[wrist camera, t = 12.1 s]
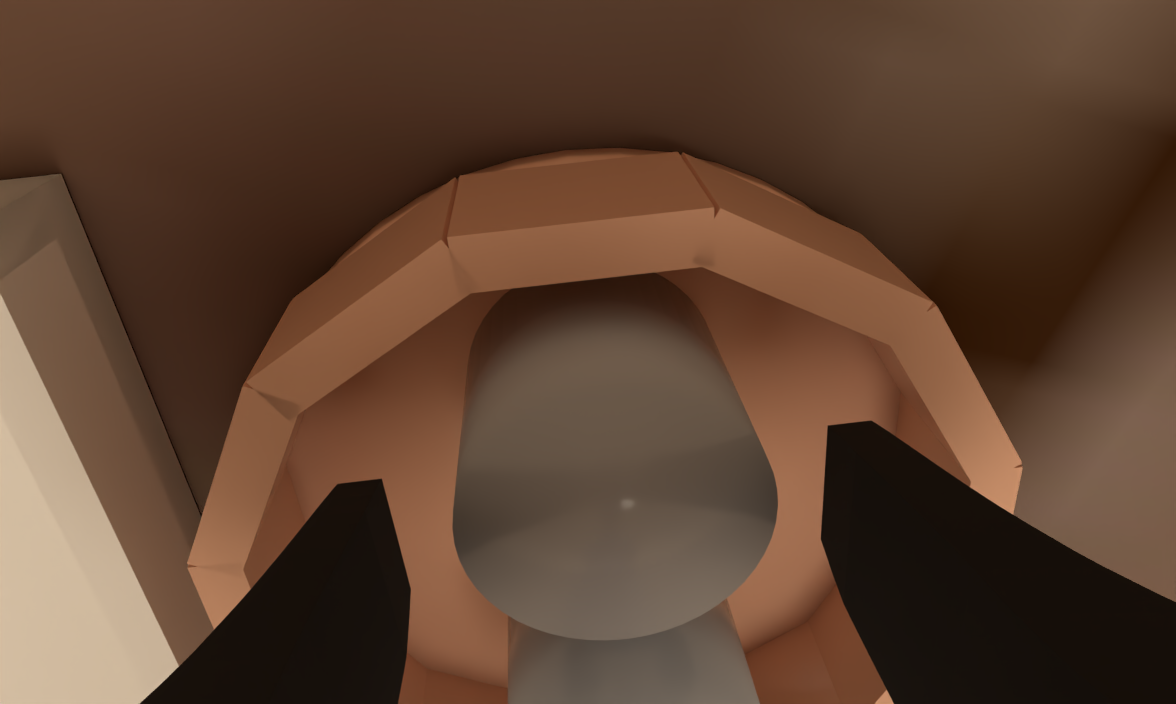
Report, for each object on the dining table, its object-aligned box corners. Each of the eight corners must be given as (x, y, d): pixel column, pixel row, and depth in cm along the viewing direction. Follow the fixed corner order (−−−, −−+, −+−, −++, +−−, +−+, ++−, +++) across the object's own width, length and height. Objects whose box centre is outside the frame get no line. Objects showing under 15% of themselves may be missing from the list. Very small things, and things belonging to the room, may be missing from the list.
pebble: (716, 460, 16) (774, 620, 12) (487, 487, 16) (479, 657, 12) (713, 246, 14) (782, 365, 10) (447, 275, 13) (424, 407, 10)
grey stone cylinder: (721, 649, 18) (771, 827, 15) (524, 677, 18) (527, 862, 15) (715, 494, 16) (772, 658, 13) (492, 524, 16) (486, 699, 12)
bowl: (888, 653, 20) (956, 789, 17) (350, 720, 20) (319, 872, 16) (956, 107, 14) (1085, 166, 11) (167, 193, 13) (62, 280, 10)
